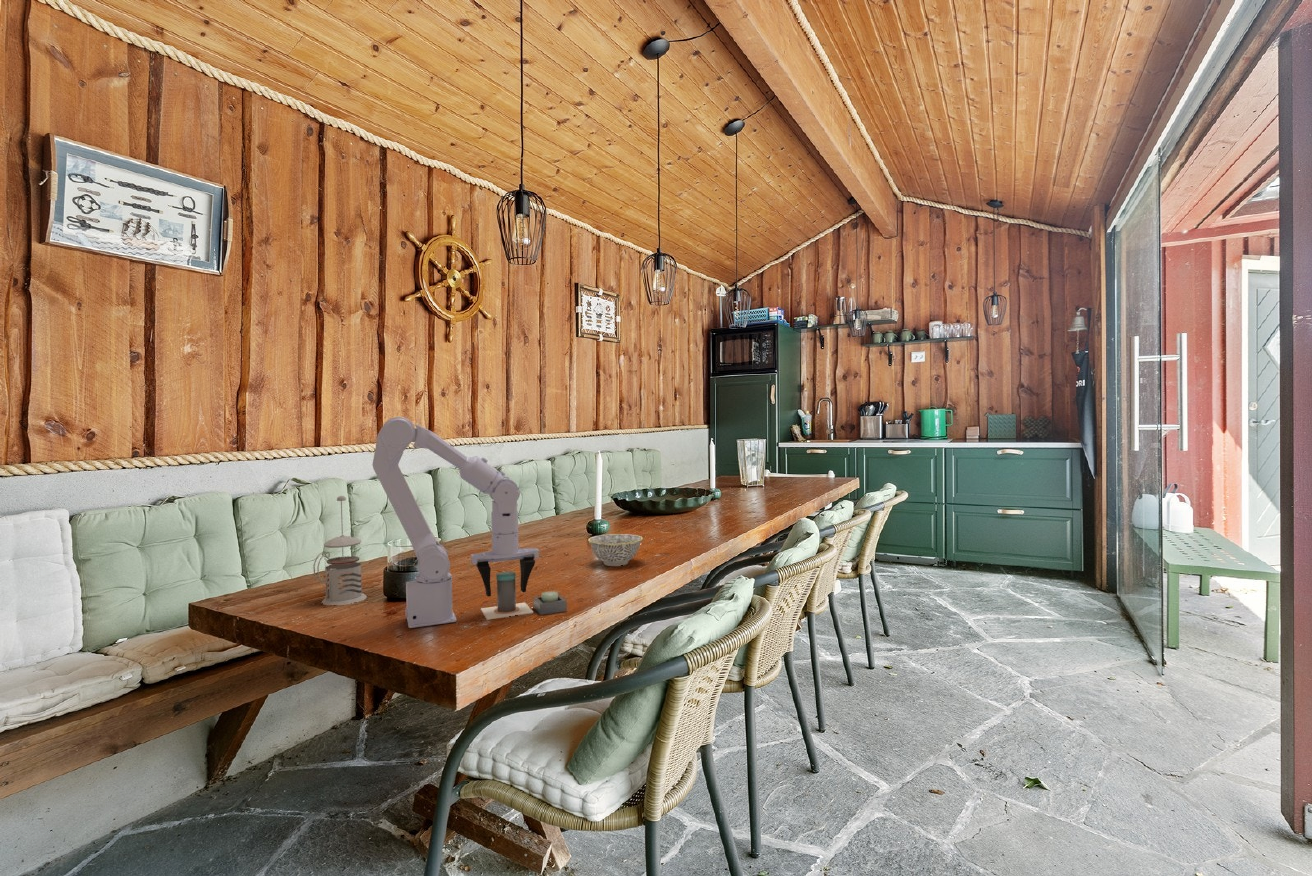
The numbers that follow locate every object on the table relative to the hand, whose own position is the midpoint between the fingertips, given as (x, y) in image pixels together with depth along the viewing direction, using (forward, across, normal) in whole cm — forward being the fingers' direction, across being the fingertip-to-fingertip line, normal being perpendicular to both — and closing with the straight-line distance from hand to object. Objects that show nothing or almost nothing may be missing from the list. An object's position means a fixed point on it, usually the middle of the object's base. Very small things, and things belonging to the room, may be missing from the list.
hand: (506, 593), depth 142 cm
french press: (+4, +34, -27) cm, 44 cm away
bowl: (+4, -38, -32) cm, 50 cm away
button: (+2, -9, +3) cm, 10 cm away
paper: (+4, 0, 0) cm, 4 cm away
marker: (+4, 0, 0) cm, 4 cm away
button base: (+4, -9, +3) cm, 10 cm away
